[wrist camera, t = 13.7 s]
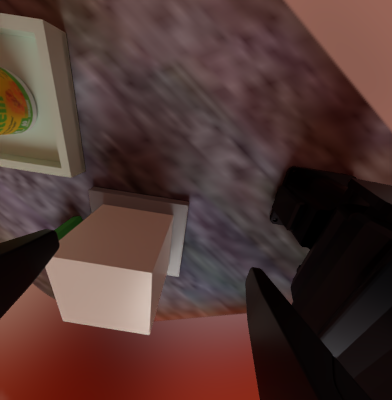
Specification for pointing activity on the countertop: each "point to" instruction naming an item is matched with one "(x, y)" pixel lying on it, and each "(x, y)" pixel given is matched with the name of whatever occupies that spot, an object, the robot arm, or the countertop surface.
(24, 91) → the supplement bottle
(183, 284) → the countertop surface
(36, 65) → the tray
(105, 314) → the plain beige box
